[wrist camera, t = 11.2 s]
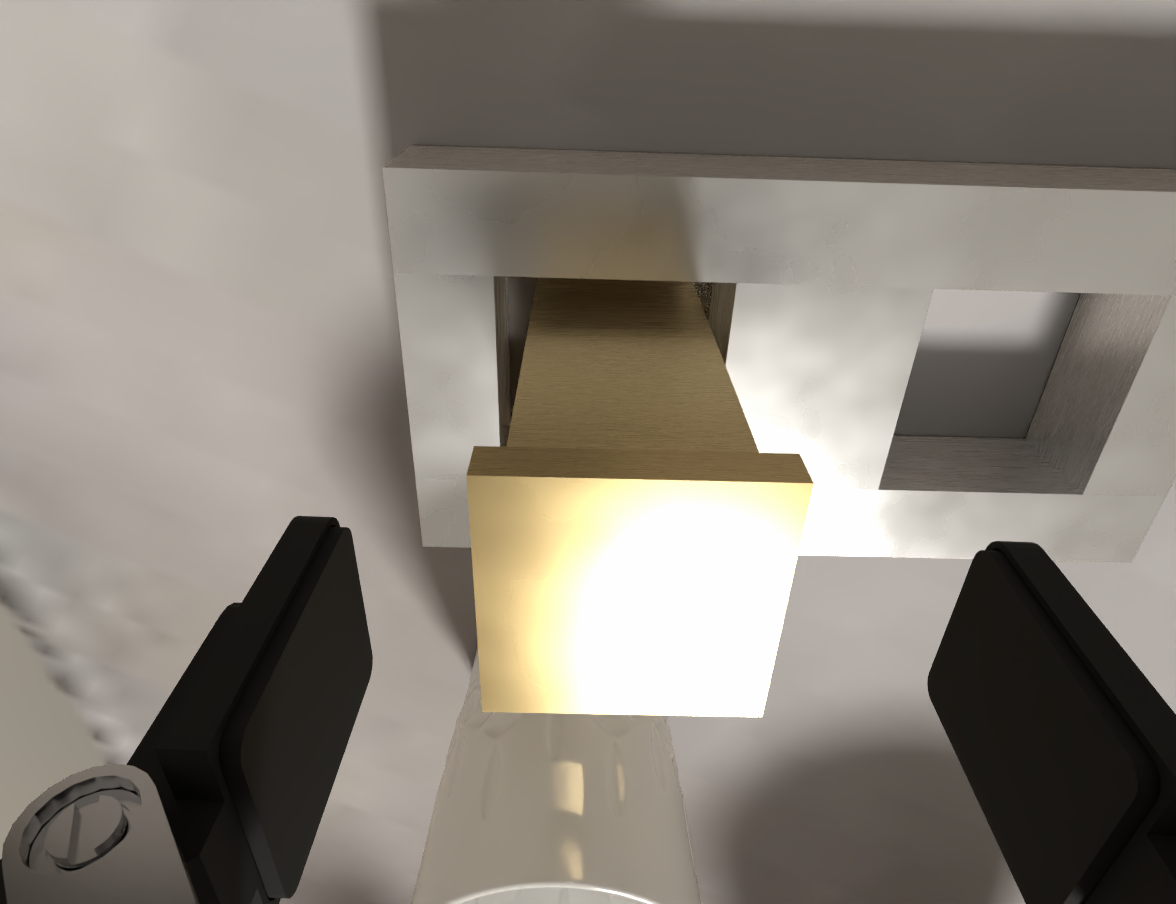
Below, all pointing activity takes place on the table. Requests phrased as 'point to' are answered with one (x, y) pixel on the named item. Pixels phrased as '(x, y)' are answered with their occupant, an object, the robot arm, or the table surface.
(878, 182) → the rail
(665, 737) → the white cup
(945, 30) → the table surface
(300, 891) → the table surface
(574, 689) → the brass square peg
